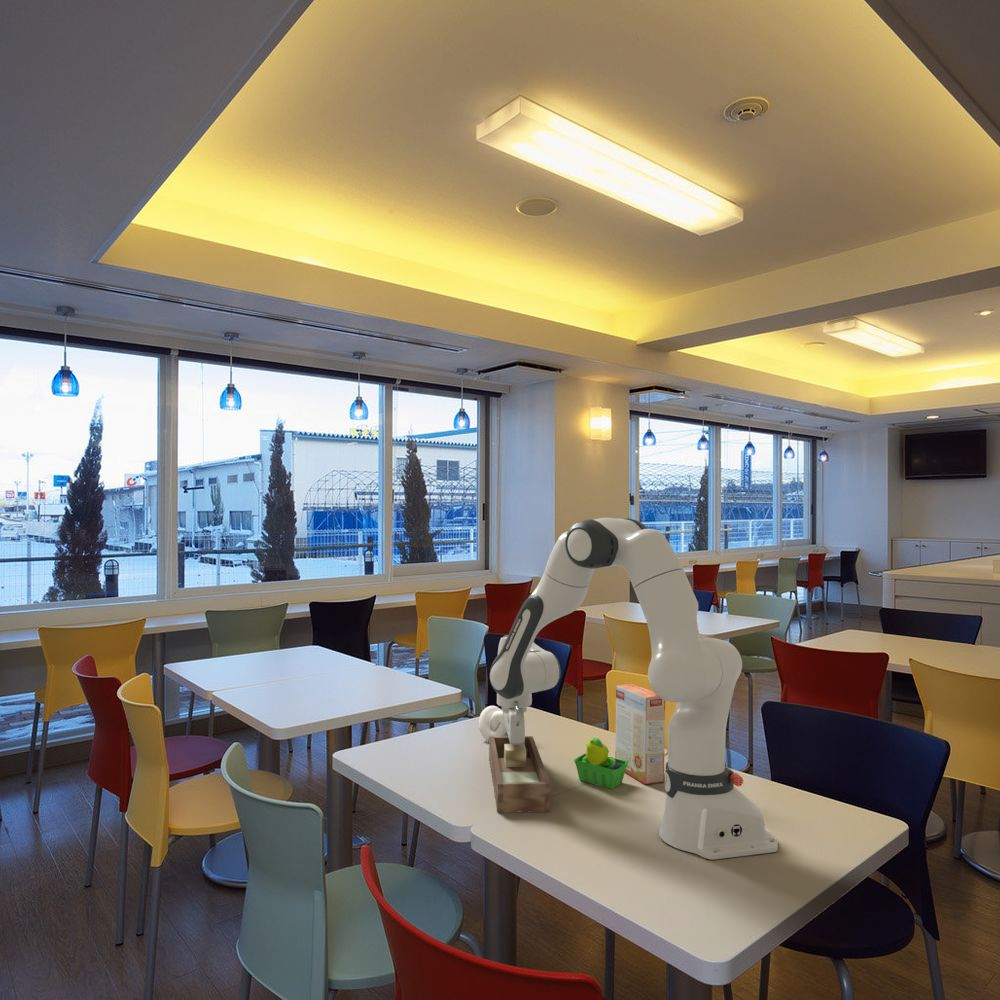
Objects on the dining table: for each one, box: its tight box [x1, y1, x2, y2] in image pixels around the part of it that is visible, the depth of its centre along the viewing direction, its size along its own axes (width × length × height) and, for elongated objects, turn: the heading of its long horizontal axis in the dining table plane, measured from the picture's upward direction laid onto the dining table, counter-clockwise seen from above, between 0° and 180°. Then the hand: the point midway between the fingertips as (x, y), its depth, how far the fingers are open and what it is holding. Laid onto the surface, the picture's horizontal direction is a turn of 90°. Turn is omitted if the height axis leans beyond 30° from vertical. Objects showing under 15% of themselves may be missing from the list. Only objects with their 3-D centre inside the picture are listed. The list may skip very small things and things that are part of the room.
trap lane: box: [488, 735, 551, 813], centre depth 174 cm, size 11×34×6 cm, turn 4°
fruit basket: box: [573, 737, 628, 790], centre depth 176 cm, size 11×9×11 cm
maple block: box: [504, 744, 526, 767], centre depth 179 cm, size 5×5×4 cm
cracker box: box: [614, 683, 666, 785], centre depth 182 cm, size 14×6×21 cm, turn 22°
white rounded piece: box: [478, 705, 508, 742], centre depth 209 cm, size 11×12×9 cm
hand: (513, 752), depth 185 cm, fingers closed
